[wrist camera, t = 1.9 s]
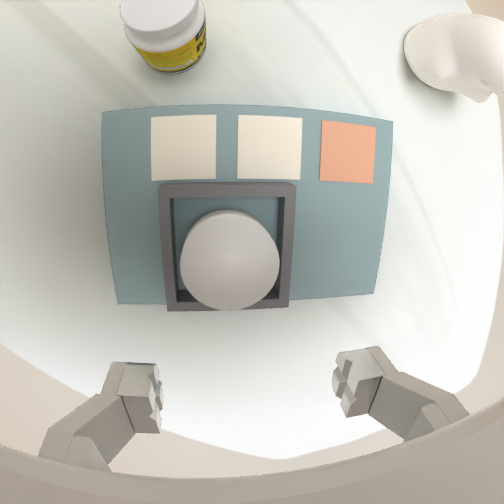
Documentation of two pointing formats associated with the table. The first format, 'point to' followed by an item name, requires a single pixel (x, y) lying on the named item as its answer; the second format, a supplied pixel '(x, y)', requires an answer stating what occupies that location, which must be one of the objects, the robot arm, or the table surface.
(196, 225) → the dome
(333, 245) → the board
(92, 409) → the robot arm
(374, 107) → the table surface
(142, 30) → the supplement bottle
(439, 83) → the figurine
